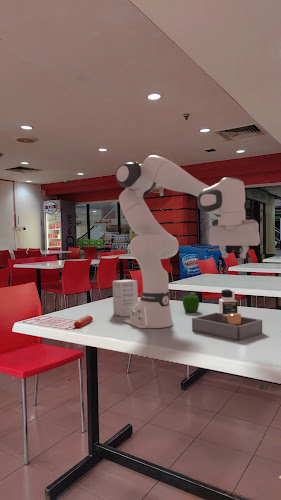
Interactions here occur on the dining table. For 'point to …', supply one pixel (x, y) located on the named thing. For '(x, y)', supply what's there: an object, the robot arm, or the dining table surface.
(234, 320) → the copper tin
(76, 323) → the candy bar
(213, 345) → the dining table surface
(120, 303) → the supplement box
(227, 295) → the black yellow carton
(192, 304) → the bell pepper
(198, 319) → the box
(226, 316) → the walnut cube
